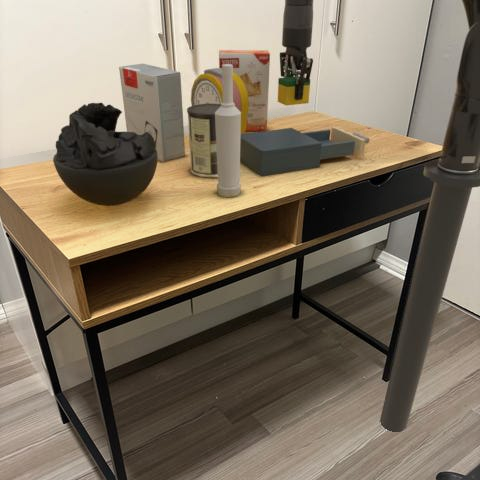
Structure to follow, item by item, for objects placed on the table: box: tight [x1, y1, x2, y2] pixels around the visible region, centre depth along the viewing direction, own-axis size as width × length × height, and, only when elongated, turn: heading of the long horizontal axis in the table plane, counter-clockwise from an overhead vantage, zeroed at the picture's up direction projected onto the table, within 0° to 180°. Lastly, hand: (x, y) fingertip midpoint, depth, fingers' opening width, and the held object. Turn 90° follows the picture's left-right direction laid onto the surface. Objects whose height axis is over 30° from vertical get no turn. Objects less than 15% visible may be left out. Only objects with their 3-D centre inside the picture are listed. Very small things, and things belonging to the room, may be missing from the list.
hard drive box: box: [118, 63, 186, 163], centre depth 127 cm, size 16×8×20 cm, turn 44°
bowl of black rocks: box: [52, 102, 158, 207], centre depth 100 cm, size 20×20×19 cm
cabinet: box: [240, 127, 322, 177], centre depth 125 cm, size 16×15×6 cm
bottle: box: [215, 64, 242, 198], centre depth 102 cm, size 5×5×25 cm
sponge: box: [277, 75, 311, 106], centre depth 137 cm, size 7×5×6 cm
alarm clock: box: [190, 67, 249, 134], centre depth 136 cm, size 15×8×18 cm, turn 42°
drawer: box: [302, 126, 371, 161], centre depth 130 cm, size 19×14×4 cm
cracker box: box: [218, 49, 271, 132], centre depth 145 cm, size 14×6×21 cm, turn 92°
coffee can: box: [186, 104, 221, 178], centre depth 117 cm, size 10×10×14 cm
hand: (293, 96), depth 138 cm, fingers closed on sponge, 5 cm apart
